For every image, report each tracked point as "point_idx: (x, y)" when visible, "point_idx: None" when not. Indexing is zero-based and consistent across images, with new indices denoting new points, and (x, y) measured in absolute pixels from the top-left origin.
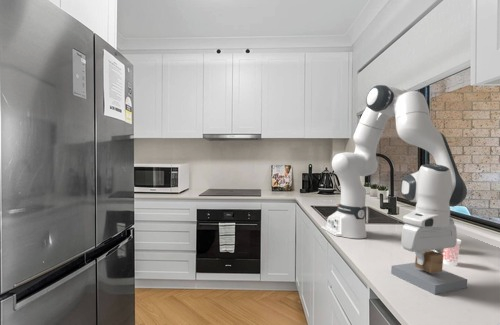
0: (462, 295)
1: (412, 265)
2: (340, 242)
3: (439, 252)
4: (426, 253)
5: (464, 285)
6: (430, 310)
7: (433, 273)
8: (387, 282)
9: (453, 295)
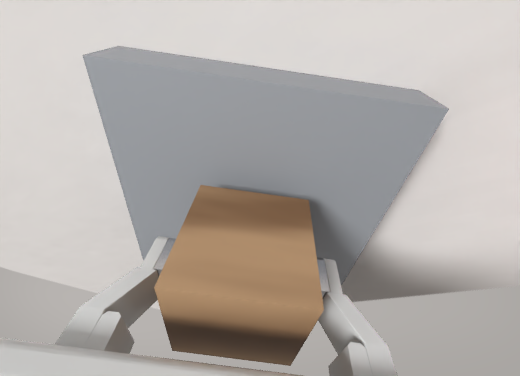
0: None
1: (269, 125)
2: None
3: (339, 346)
4: (183, 330)
5: None
6: (68, 265)
7: None
8: (19, 119)
9: None
